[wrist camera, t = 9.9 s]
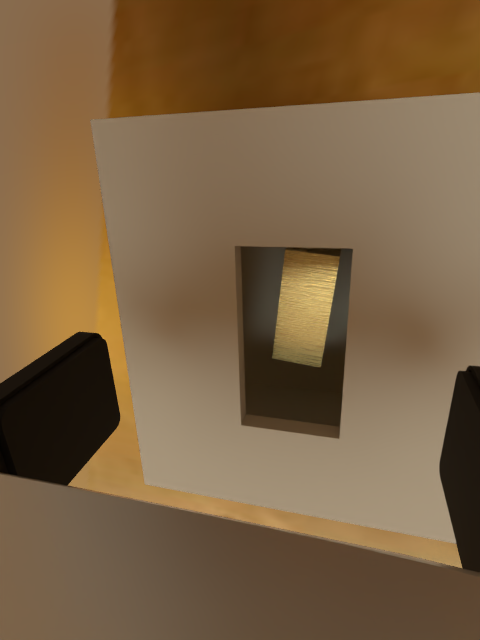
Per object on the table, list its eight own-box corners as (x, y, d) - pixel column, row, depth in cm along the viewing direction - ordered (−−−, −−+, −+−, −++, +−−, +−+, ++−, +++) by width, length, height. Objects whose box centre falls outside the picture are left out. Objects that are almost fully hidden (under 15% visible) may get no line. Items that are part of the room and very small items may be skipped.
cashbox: (195, 135, 23) (90, 119, 14) (470, 120, 19) (568, 86, 10) (211, 382, 29) (144, 484, 20) (424, 406, 25) (462, 544, 16)
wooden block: (287, 321, 24) (299, 231, 22) (327, 328, 24) (343, 236, 22) (272, 358, 20) (285, 249, 18) (320, 367, 19) (339, 256, 17)
